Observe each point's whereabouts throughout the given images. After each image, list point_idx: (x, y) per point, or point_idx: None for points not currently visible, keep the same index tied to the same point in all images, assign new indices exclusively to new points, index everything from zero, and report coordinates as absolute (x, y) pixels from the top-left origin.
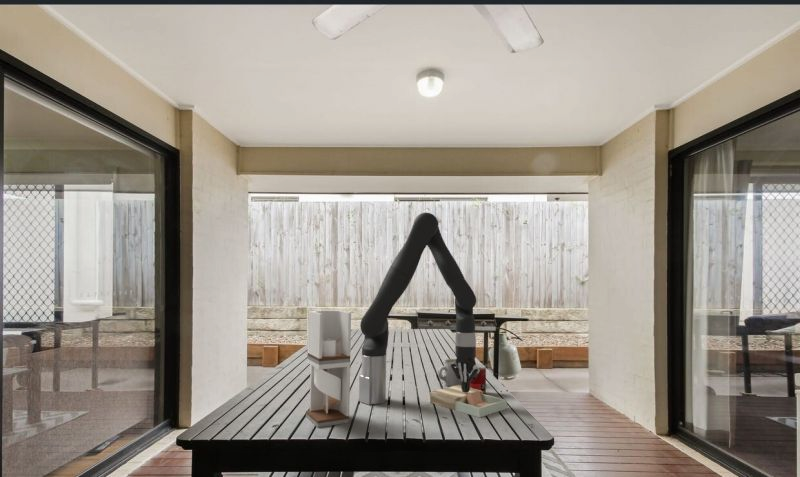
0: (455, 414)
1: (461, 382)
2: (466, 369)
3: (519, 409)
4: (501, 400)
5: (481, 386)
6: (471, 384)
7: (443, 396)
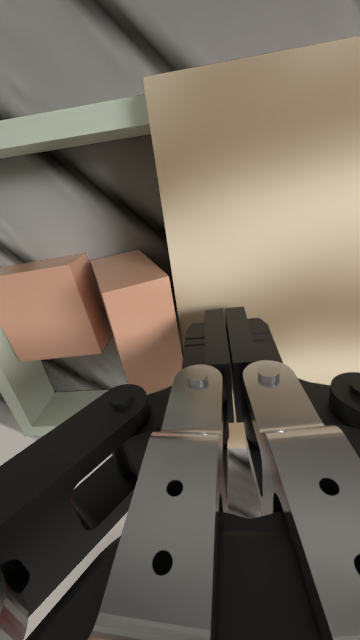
0: (59, 8)
1: (280, 361)
2: (102, 601)
3: (19, 429)
4: (47, 421)
5: None
6: None
7: (334, 44)
